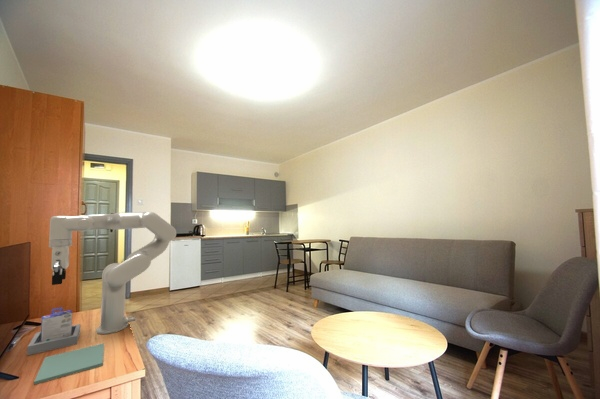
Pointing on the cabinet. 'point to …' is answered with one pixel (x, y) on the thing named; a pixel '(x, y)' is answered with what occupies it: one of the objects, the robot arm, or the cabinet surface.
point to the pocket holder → (53, 342)
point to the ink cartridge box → (56, 325)
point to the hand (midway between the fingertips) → (58, 281)
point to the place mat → (70, 363)
